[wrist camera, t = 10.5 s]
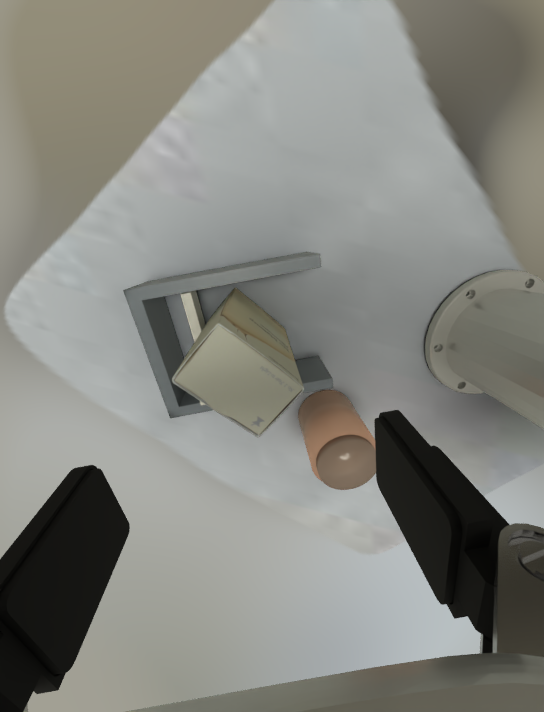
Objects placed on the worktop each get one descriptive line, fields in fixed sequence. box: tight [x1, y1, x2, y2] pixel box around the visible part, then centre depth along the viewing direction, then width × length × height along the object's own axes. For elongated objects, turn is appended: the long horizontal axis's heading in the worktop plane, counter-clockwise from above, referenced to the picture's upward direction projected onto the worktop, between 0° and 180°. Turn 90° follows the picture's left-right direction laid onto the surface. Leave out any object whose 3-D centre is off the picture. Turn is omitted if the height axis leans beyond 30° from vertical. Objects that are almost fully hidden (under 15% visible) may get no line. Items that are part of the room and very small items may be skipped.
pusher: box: [180, 290, 206, 405], centre depth 23 cm, size 1×8×6 cm, turn 9°
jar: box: [298, 390, 376, 490], centre depth 27 cm, size 6×6×8 cm
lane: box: [123, 252, 333, 418], centre depth 24 cm, size 14×11×5 cm
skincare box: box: [172, 288, 304, 437], centre depth 21 cm, size 6×4×12 cm
